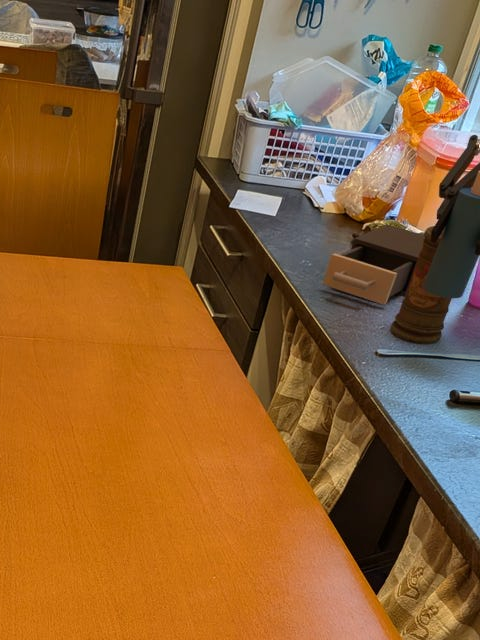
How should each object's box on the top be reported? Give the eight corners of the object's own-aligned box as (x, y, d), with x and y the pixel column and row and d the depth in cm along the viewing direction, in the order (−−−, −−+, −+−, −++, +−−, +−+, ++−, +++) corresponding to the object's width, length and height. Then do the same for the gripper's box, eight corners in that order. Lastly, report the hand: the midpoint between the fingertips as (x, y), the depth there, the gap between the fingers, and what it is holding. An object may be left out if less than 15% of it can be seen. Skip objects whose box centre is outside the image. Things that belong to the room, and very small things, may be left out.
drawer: (375, 309, 177) (386, 278, 173) (313, 289, 183) (322, 258, 179) (414, 287, 189) (425, 258, 185) (354, 269, 195) (364, 239, 191)
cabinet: (407, 298, 187) (422, 258, 182) (341, 276, 193) (354, 238, 188) (437, 280, 197) (452, 242, 192) (374, 261, 203) (386, 224, 198)
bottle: (467, 292, 153) (517, 175, 142) (454, 301, 150) (503, 181, 138) (430, 281, 156) (475, 165, 145) (416, 289, 152) (461, 170, 141)
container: (398, 321, 176) (432, 221, 164) (445, 334, 172) (484, 233, 160) (383, 334, 170) (417, 232, 158) (432, 348, 166) (470, 244, 155)
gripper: (594, 147, 144) (514, 275, 144) (471, 119, 153) (397, 240, 153) (603, 112, 137) (520, 246, 138) (474, 85, 146) (396, 211, 146)
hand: (455, 243), depth 145 cm, fingers closed on bottle, 6 cm apart
